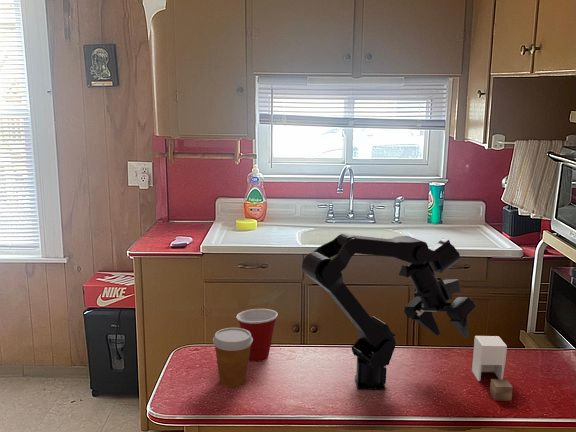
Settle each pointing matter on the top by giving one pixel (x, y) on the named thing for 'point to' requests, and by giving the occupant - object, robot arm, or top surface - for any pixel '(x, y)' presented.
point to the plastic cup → (258, 330)
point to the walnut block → (501, 389)
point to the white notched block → (489, 356)
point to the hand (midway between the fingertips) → (452, 336)
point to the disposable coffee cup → (232, 355)
